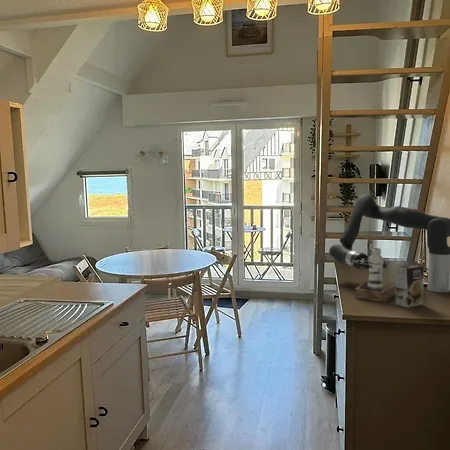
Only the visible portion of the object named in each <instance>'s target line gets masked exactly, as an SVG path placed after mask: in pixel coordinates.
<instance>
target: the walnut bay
mask: <svg viewBox="0 0 450 450" xmlns="http://www.w3.org/2000/svg"><path fill="white" fill-rule="evenodd" d="M367 286H368V281H365V282H363V283H361V284H360V285H359V286H357V287H355V288H354V298H355V299H360V300H367V301H372V302H373V301H374V302H380V303H386V302H387V301H389V300H390V299H391V298H392V297H393V296H394V295H396V285H394V284H391V285H390V286H389V287H388V288H387V289H385V290H384V289H383V291H382V292H380V291H373V290H368V288H367Z"/></svg>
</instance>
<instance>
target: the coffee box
mask: <svg viewBox="0 0 450 450" xmlns="http://www.w3.org/2000/svg"><path fill="white" fill-rule="evenodd" d="M424 272H425V266H423V265H418V264H413V263H411V264H410V263H409V264H404V265H397V266H396V283H395V284H396V285H395V304H396V305H398V306H400V307H404V308H406V309H409V308H413V307H418V306H422V305H423V304H424V302H423V301H424V299H423V298H424V278H425V277H424V276H425V275H424V274H425V273H424Z"/></svg>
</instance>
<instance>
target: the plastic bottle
mask: <svg viewBox="0 0 450 450" xmlns="http://www.w3.org/2000/svg"><path fill="white" fill-rule="evenodd" d="M381 253H382V249H381V248H379V247H377V248H375V247H374V248H371V255H370V256H368V257H369V259H368V264H369V269H368V272H369V273H368V274H369V275H368V281H367V282H368V286H367V288H368V290H373V291H380V292H382V291H383V290H384V285H383V270H384V268H383V263H384V258H383V257H382V255H381Z"/></svg>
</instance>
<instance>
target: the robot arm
mask: <svg viewBox="0 0 450 450" xmlns="http://www.w3.org/2000/svg"><path fill="white" fill-rule="evenodd" d="M363 217H366V218H370V219H374V220H375V219H376V220H381V221H383V222H387V223H390V224H393V225H395V226H400V227H403V228H407V229H408V228H409V229H416V230H417V229H419V230H425V231H426V244H427V248H428V260H427V261H428V262H427V263H428V265H427V266H428V267H427V269H428V270H427V290H428V291H430V292H434V293H447V294H448V293H450V246H449V245H448V238H449V237H450V218H449V217H443V216H436V215H431V214H427V213H423V212H421V211H419V210H415V209H411V208H408V207H404V206H399V205H395V206H391V207H384V206H380V205H379V204H378V203H377V202H376V201H375V199H374V197H373V196H372V195H370V194H369V193H368V194H363V195H360V196H359V197H358V199H357V200H356V202H355V205H354V208H353V210H352V213H351V216H350V218H349V221H348V223H347V224H346V227H345V229H344V231H343V233H341V234H342V235H341V236H340V237H339V242H340V244H339V243H338V244H337V243H336V244H333V245H331V247H330V248H329V252H328V253H329V255H330V256H331V257H332V258H333V259H335V260H336V262H338V263H339V264H347V265H349V266H350V267H353V268H355V269H358V270H364V269H366V270H369V264H368V259H369V257H370V256H368V254H366V253H365V252H364V253H363V252H360V251H358V250H352V249H353V245H354V244H355V241H356V240H357V238H358V236H359V233H360V230H361V229H360V228H361V223H362V220H363ZM383 260H384V259H383ZM385 261H386V260H384V263H383V269H386V268H387V265H388V264H387V262H385Z"/></svg>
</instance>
